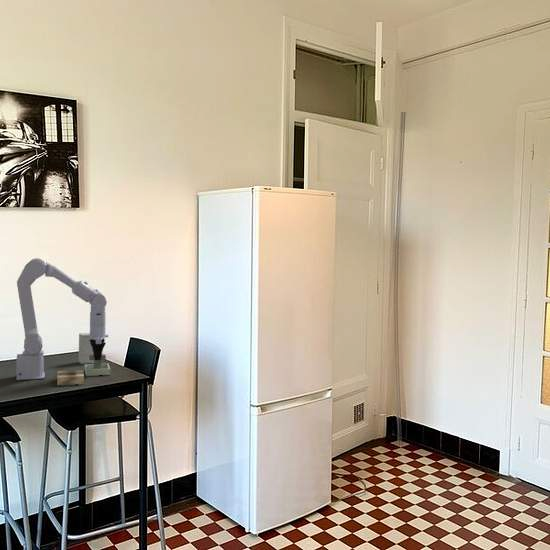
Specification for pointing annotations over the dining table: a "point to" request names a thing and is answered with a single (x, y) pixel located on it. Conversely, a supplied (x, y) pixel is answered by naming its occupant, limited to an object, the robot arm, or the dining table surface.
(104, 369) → the tray
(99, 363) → the t key
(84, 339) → the skincare box
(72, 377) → the key block
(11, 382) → the dining table surface
